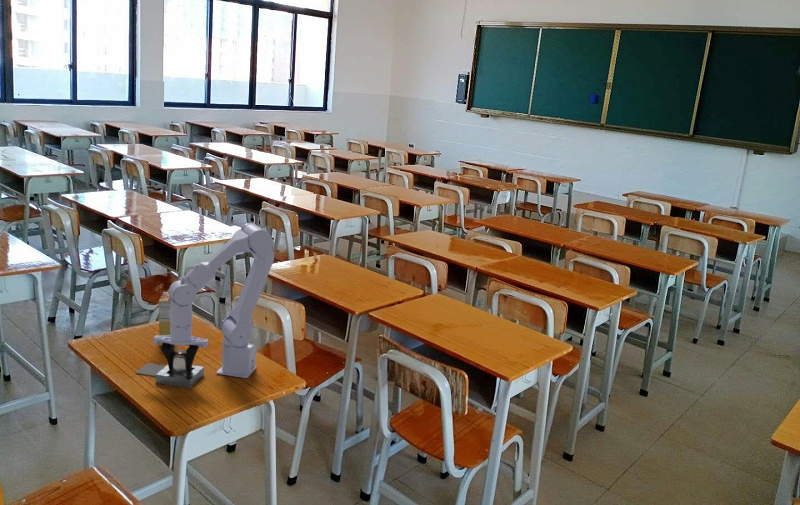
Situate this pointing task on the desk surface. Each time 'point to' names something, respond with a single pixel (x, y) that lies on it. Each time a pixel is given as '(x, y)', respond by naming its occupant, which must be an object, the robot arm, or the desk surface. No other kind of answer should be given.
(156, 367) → the mat
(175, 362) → the metal cylinder
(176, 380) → the housing
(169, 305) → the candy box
